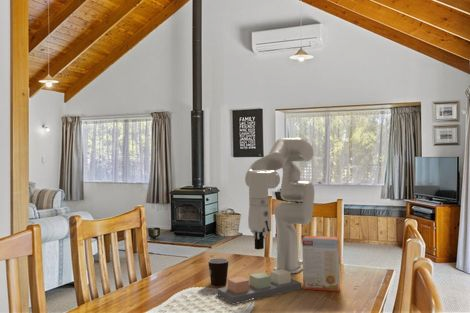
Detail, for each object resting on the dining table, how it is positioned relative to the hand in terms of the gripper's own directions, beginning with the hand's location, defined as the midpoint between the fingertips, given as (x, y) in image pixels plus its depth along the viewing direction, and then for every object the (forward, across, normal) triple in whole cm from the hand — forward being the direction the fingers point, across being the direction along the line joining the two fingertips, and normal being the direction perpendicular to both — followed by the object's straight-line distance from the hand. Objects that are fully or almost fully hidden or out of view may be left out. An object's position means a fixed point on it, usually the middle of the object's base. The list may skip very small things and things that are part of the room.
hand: (259, 248), depth 172 cm
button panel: (+17, 0, 0) cm, 17 cm away
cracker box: (+17, -10, -23) cm, 31 cm away
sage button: (+16, 0, 0) cm, 16 cm away
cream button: (+16, 0, -10) cm, 19 cm away
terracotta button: (+16, 0, +10) cm, 19 cm away
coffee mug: (+17, +19, +8) cm, 27 cm away
